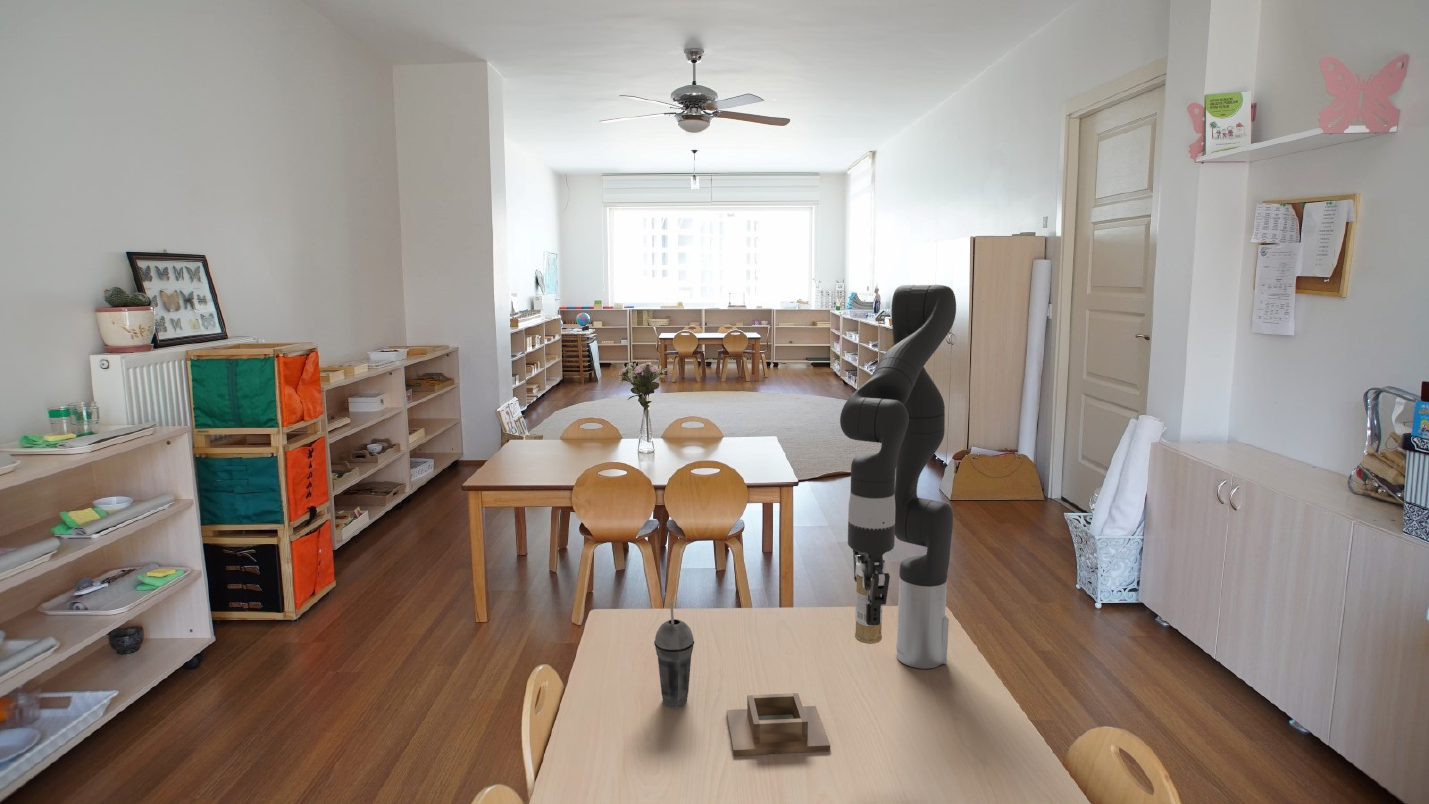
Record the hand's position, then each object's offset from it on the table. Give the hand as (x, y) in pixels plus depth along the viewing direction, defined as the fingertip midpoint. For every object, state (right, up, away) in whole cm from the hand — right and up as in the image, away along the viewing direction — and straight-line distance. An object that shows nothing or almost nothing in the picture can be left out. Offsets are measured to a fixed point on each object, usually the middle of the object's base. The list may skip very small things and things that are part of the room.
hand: (868, 617), depth 134 cm
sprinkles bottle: (0, -4, +1) cm, 4 cm away
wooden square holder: (-15, -21, +4) cm, 26 cm away
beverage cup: (-33, -19, +14) cm, 41 cm away
